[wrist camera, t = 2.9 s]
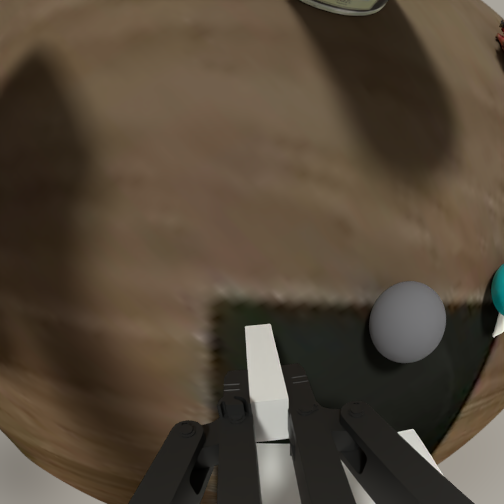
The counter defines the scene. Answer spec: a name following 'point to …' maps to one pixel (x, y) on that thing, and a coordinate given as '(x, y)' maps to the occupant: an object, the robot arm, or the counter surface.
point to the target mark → (499, 325)
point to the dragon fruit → (502, 39)
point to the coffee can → (348, 6)
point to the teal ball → (498, 290)
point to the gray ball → (407, 322)
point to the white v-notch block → (284, 479)
